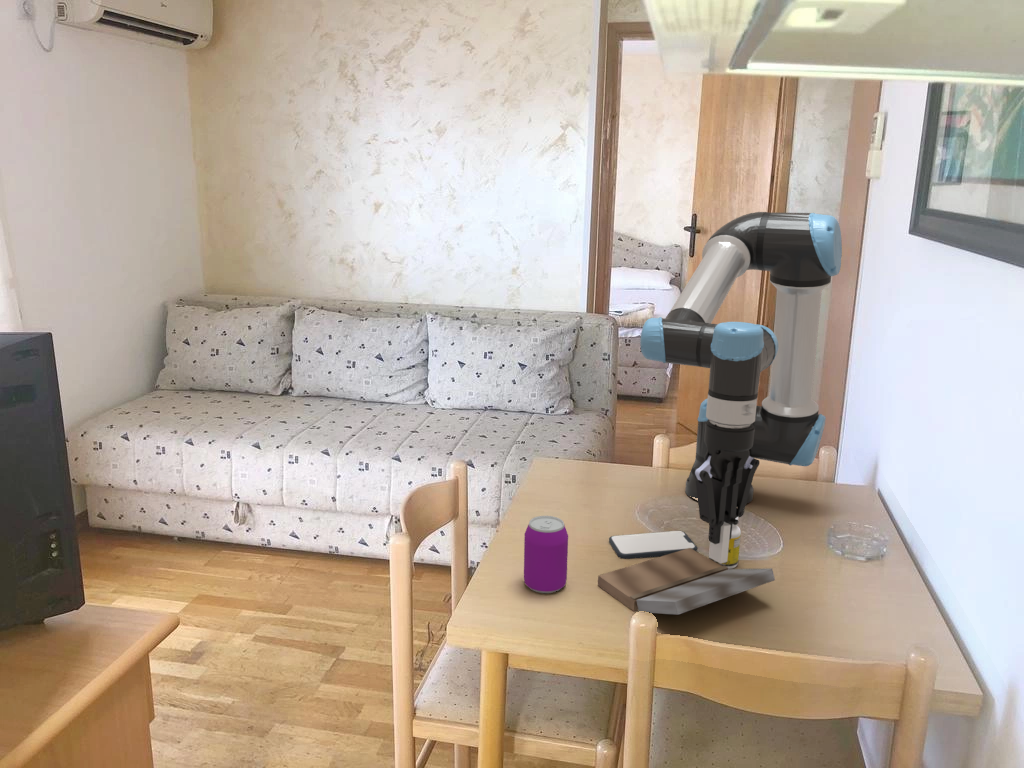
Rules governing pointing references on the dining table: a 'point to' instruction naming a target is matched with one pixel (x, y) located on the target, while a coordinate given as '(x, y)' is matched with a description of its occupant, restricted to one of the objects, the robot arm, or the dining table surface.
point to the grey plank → (705, 591)
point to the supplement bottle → (733, 548)
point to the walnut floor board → (657, 576)
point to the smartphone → (650, 544)
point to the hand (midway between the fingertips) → (717, 559)
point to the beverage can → (545, 554)
